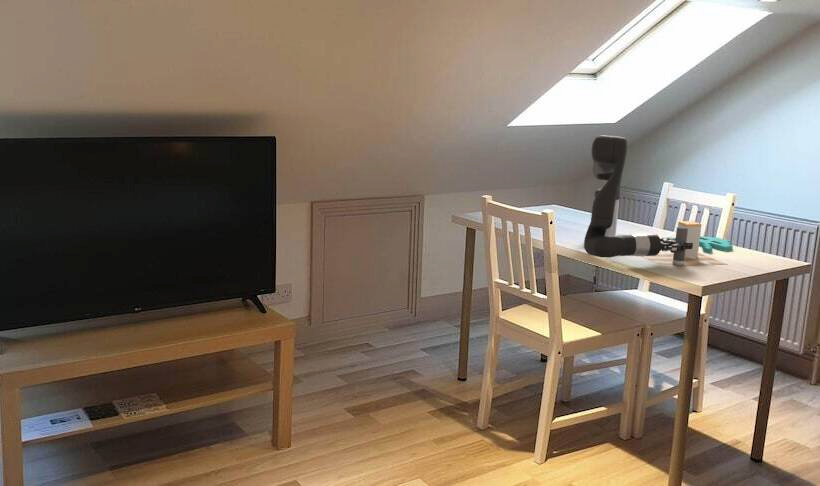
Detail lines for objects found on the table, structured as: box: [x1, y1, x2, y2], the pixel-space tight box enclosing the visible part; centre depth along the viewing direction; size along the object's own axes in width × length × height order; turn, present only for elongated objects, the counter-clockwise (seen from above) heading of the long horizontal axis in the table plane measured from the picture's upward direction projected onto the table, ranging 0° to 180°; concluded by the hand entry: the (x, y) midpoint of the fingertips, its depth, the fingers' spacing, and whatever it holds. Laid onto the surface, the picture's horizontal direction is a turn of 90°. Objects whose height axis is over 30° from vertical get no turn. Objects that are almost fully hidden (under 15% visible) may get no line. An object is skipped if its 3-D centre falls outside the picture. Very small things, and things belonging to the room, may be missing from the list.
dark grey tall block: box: [672, 226, 688, 267], centre depth 276 cm, size 4×4×12 cm
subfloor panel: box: [641, 252, 729, 268], centre depth 285 cm, size 17×25×2 cm
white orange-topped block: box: [677, 220, 702, 257], centre depth 290 cm, size 5×6×12 cm
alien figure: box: [667, 235, 734, 254], centre depth 316 cm, size 20×2×20 cm
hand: (687, 243), depth 277 cm, fingers open, 4 cm apart
